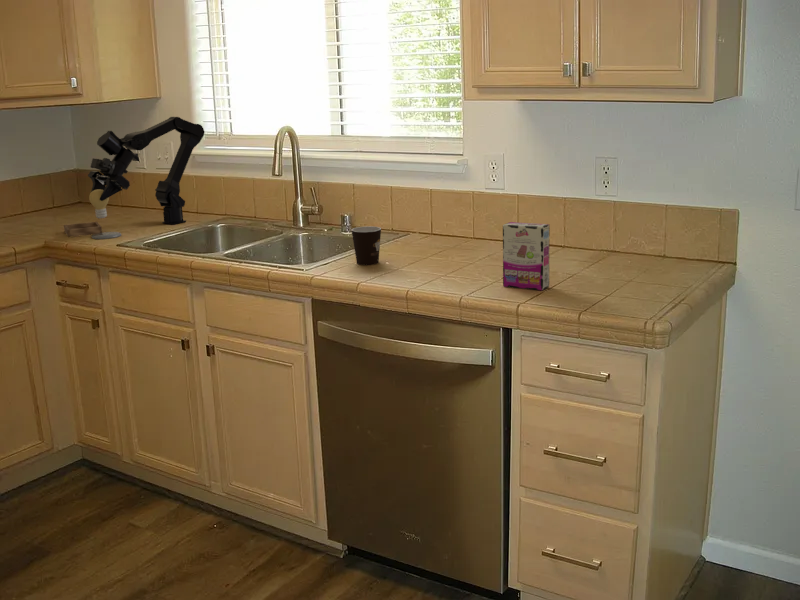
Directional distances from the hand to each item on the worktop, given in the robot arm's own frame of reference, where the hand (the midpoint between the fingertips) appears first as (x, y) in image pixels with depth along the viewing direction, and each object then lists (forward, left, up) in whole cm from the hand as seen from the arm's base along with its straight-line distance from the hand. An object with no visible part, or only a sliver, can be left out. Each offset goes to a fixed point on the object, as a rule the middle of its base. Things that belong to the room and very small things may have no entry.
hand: (95, 199), depth 315 cm
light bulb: (-1, 0, -7) cm, 7 cm away
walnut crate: (-2, -12, -13) cm, 18 cm away
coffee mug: (-13, +110, -13) cm, 111 cm away
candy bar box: (-9, +163, -13) cm, 163 cm away
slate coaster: (-1, +2, -13) cm, 13 cm away
